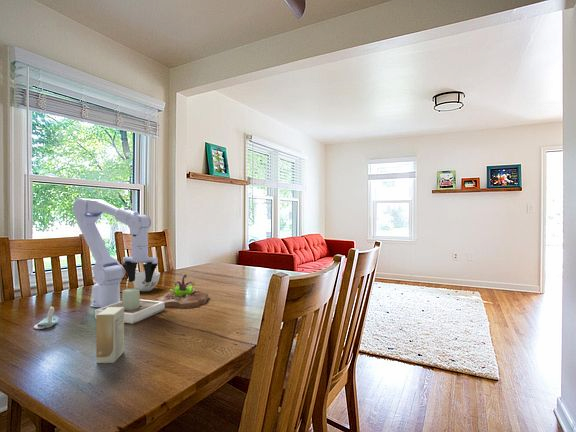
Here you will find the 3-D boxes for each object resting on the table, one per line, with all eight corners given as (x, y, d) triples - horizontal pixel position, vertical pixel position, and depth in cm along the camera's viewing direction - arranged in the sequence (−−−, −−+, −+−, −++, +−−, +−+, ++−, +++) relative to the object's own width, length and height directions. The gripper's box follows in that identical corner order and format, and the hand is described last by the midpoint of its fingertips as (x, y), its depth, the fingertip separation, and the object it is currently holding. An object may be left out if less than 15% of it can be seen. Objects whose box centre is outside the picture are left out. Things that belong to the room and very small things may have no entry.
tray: (94, 318, 111) (95, 309, 111) (129, 305, 126) (129, 298, 126) (133, 323, 106) (133, 314, 106) (164, 309, 121) (164, 301, 121)
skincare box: (107, 352, 84) (107, 306, 84) (124, 352, 85) (125, 306, 85) (95, 364, 78) (95, 314, 78) (113, 363, 78) (113, 313, 78)
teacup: (161, 291, 149) (161, 274, 149) (131, 294, 143) (131, 276, 143) (157, 284, 162) (157, 269, 162) (130, 287, 156) (130, 271, 156)
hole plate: (99, 315, 111) (99, 311, 111) (130, 304, 125) (130, 300, 125) (132, 319, 107) (132, 315, 107) (160, 308, 121) (160, 303, 121)
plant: (214, 296, 142) (215, 271, 142) (196, 310, 123) (197, 281, 123) (172, 294, 145) (172, 270, 145) (148, 307, 125) (148, 279, 125)
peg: (122, 313, 114) (122, 290, 114) (130, 309, 118) (130, 288, 118) (131, 314, 113) (131, 291, 113) (139, 310, 117) (139, 289, 117)
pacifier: (30, 332, 98) (54, 328, 101) (30, 311, 98) (53, 309, 101) (37, 324, 105) (59, 321, 108) (37, 305, 105) (59, 303, 107)
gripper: (116, 246, 120) (116, 282, 120) (148, 247, 116) (148, 284, 116) (130, 245, 127) (130, 279, 127) (161, 245, 123) (161, 280, 123)
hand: (140, 281), depth 122 cm, fingers open, 7 cm apart
